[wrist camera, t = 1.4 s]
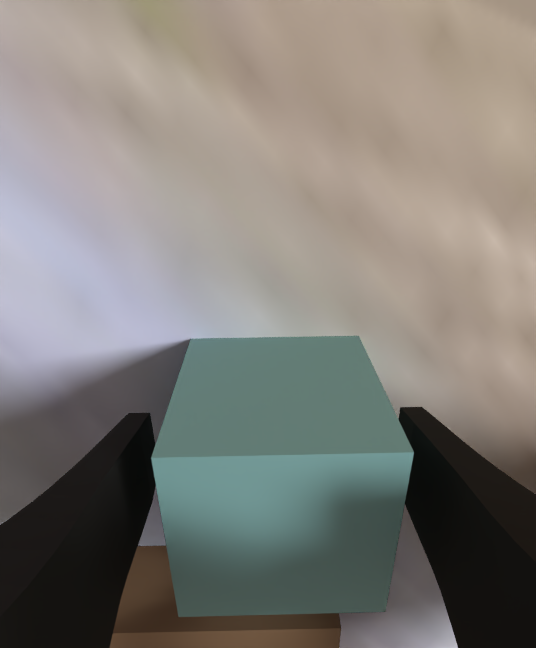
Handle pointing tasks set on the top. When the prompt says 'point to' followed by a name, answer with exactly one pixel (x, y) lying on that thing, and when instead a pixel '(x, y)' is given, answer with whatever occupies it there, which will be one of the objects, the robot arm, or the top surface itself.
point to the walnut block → (204, 617)
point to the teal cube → (280, 478)
